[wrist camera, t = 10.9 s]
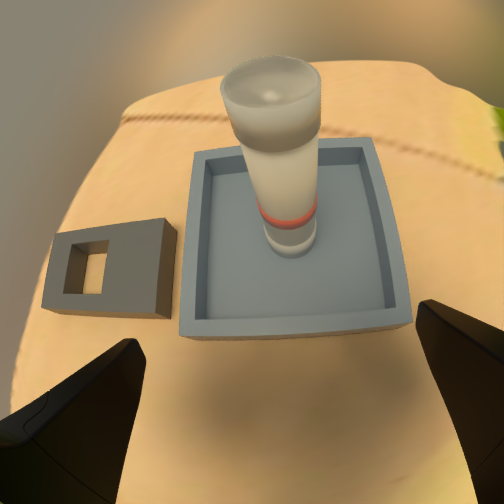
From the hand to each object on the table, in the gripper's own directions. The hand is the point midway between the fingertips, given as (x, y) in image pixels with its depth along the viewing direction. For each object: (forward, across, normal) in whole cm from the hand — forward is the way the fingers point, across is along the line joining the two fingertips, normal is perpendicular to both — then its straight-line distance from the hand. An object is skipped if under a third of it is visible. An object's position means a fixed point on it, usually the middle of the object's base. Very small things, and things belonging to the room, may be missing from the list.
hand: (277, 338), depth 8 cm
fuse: (+13, -1, +2) cm, 13 cm away
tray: (+13, -1, +2) cm, 14 cm away
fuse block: (+13, +14, +3) cm, 19 cm away
